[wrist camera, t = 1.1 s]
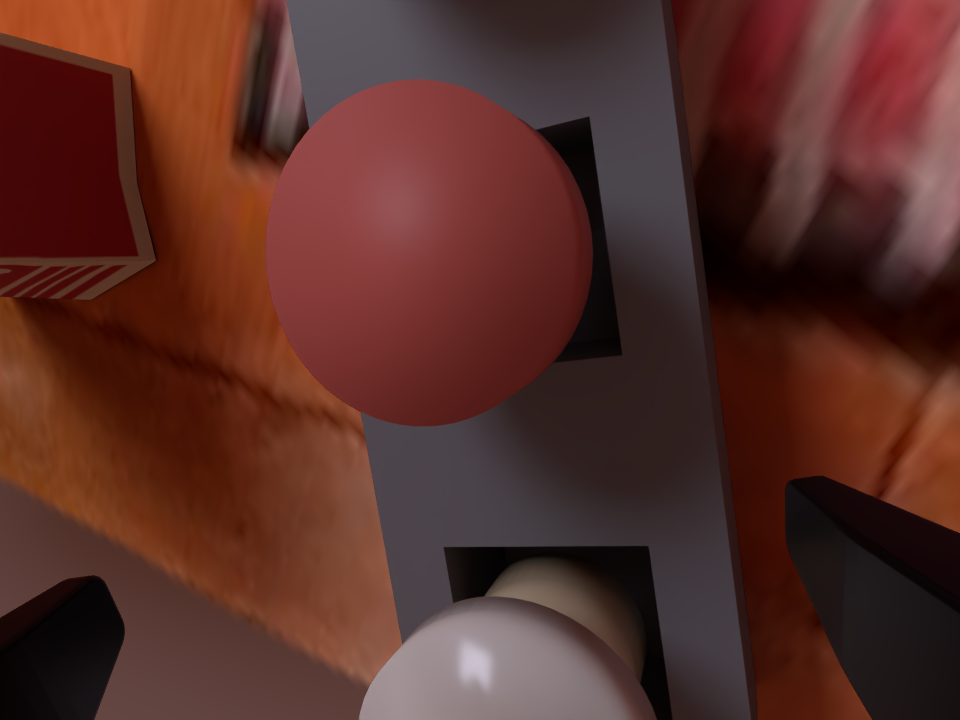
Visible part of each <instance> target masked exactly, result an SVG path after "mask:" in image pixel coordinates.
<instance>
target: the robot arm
mask: <svg viewBox="0 0 960 720" xmlns="http://www.w3.org/2000/svg"><path fill="white" fill-rule="evenodd" d="M785 532H786V542H787V547H788V550H789V553H790V556H791V558H792V560H793V562H794V565H795V567H796V569H797V571H798V573H799V576H800V578H801V580H802V582H803V584H804V586H805V589H806V591H807V593H808V595H809V597H810V600H811V602H812V604H813V606H814V608H815V611H816V613H817V615H818V617H819V619H820V622H821V624H822V626H823V628H824V630H825V633H826V635H827V637H828V639H829V641H830V644H831V646H832V648H833V650H834V652H835V654H836V656H837V658H838V660H839V663H840V665H841V667H842V668H843V670H844V672H845V674H846V676H847V677H848V679H849V681H850V683H851V685H852V686H853V688H854V690H855V691H856V693H857V695H858V696H859V698H860V700H861V701H862V703H863V705H864V707H865V708H866V710H867V712H868V713H869V715H870V717H871V718H872V720H960V533H958V532H956V531H953V530H951V529H948V528H946V527H944V526H941V525H939V524H937V523H934V522H932V521H929V520H927V519H925V518H922V517H920V516H918V515H915V514H913V513H910V512H908V511H906V510H903V509H901V508H898V507H896V506H894V505H891V504H889V503H887V502H884V501H882V500H879V499H877V498H875V497H872V496H870V495H868V494H865V493H863V492H860V491H858V490H856V489H853V488H851V487H849V486H846V485H844V484H841V483H839V482H837V481H834V480H832V479H829V478H827V477H824V476H813V477H806V478H799V479H792V480H790V481H789V482H788V483H787V486H786V489H785ZM124 635H125V627H124V622H123V620H122V617H121V615H120V613H119V611H118V609H117V607H116V604H115V602H114V600H113V598H112V596H111V593H110V591H109V589H108V587H107V585H106V583H105V581H104V580H103V579H101V578H100V577H98V576H94V575H92V576H85V577H77V578H69V579H66V580H64V581H62V582H60V583H58V584H57V585H55V586H53V587H52V588H50V589H48V590H46V591H45V592H43V593H41V594H40V595H38V596H36V597H35V598H33V599H31V600H29V601H28V602H26V603H25V604H23V605H21V606H19V607H18V608H16V609H14V610H13V611H11V612H9V613H8V614H6V615H4V616H2V617H1V618H0V720H94V719H95V716H96V713H97V711H98V708H99V705H100V703H101V700H102V697H103V695H104V692H105V689H106V687H107V684H108V681H109V679H110V676H111V673H112V671H113V668H114V665H115V663H116V660H117V657H118V655H119V652H120V649H121V646H122V644H123V640H124Z"/></svg>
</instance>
